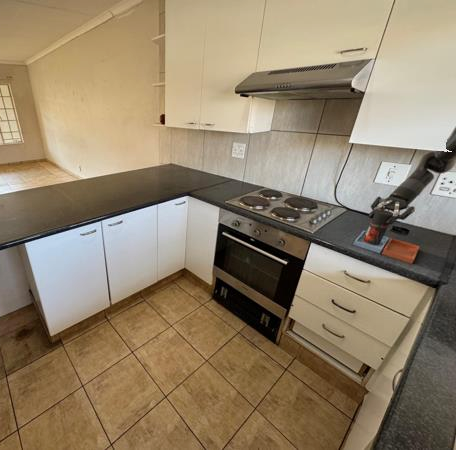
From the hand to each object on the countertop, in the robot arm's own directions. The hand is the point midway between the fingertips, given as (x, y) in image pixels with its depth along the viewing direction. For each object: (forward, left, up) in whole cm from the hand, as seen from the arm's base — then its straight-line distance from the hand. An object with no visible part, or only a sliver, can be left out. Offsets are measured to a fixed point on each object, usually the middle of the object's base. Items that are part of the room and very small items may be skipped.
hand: (378, 220), depth 108 cm
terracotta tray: (-11, -1, -12) cm, 16 cm away
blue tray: (-1, -2, -12) cm, 12 cm away
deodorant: (-1, -2, -12) cm, 12 cm away
